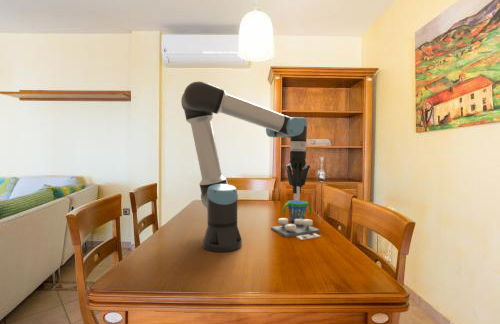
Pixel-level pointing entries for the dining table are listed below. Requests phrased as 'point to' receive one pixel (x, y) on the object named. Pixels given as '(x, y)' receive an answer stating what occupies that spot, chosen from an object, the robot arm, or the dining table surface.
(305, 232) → the button board
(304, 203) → the snack cup
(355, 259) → the dining table surface
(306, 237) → the pattern tile
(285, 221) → the button
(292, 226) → the button
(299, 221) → the button
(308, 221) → the button
